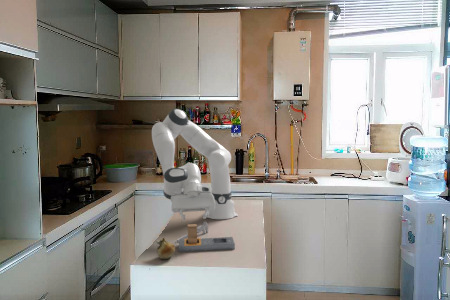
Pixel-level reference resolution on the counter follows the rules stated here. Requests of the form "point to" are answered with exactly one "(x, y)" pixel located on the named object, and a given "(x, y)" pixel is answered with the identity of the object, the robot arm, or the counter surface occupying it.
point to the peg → (192, 233)
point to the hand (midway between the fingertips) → (194, 218)
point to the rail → (207, 244)
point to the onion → (165, 249)
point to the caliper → (199, 229)
